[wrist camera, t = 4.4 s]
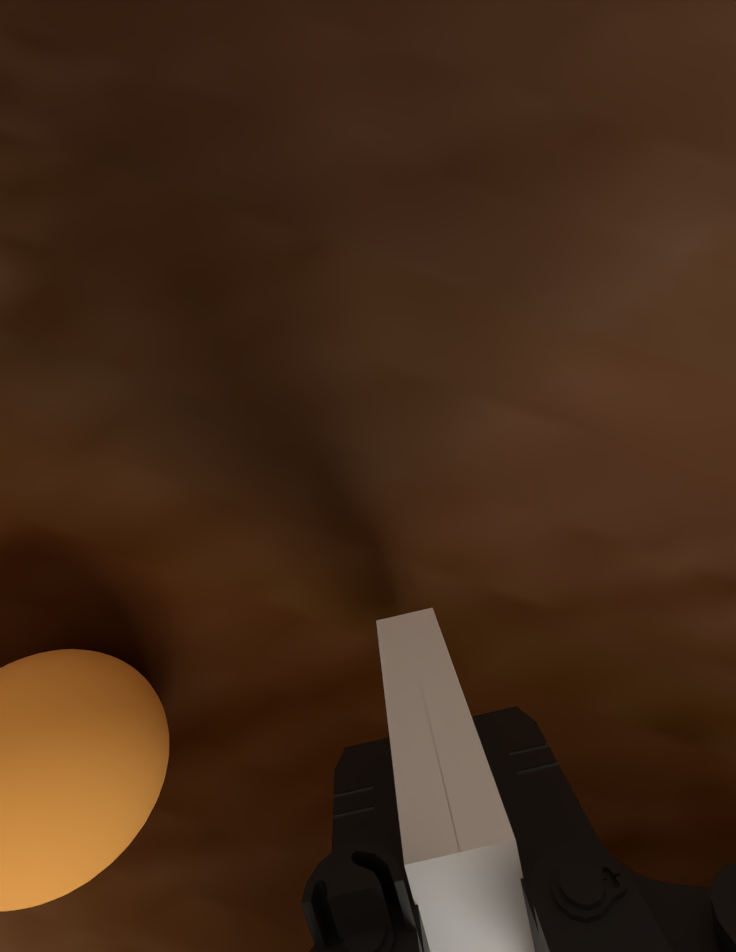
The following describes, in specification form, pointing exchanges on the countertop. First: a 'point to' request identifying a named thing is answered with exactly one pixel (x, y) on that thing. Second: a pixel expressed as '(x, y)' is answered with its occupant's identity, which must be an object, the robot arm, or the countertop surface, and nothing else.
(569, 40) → the countertop surface
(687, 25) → the countertop surface
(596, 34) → the countertop surface
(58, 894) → the ball
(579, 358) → the countertop surface
